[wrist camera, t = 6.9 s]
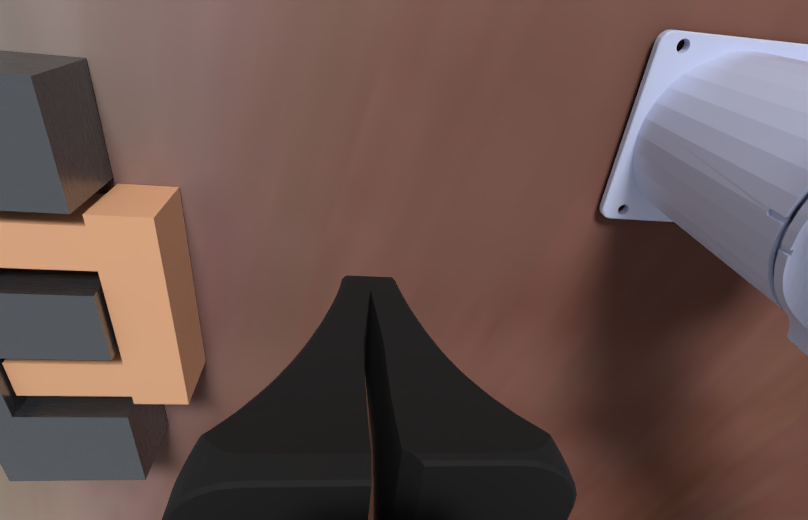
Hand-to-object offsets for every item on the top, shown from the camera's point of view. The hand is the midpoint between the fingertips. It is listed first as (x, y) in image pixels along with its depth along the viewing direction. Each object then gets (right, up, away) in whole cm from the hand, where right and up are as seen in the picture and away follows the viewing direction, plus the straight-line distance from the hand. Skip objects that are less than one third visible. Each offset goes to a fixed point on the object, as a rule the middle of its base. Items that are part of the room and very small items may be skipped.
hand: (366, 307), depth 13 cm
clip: (-13, 0, +10) cm, 16 cm away
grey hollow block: (-15, 0, +9) cm, 18 cm away
